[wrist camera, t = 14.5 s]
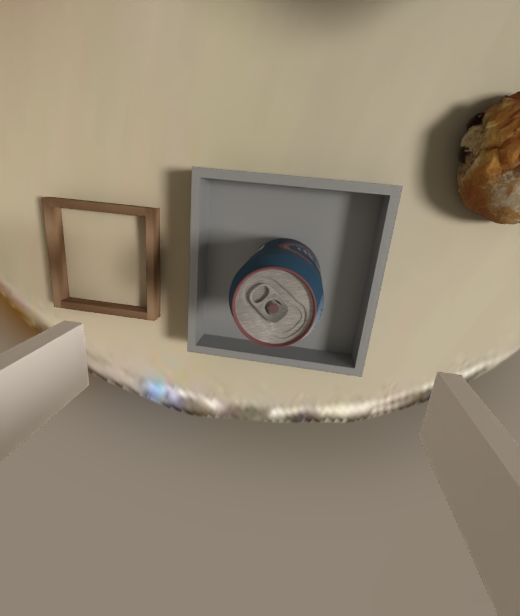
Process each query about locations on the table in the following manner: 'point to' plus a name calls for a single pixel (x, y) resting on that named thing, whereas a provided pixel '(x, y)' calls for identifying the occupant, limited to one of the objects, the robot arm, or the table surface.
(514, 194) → the bread roll
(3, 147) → the table surface
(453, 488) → the robot arm
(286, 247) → the soda can
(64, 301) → the walnut frame
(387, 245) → the grey bin
